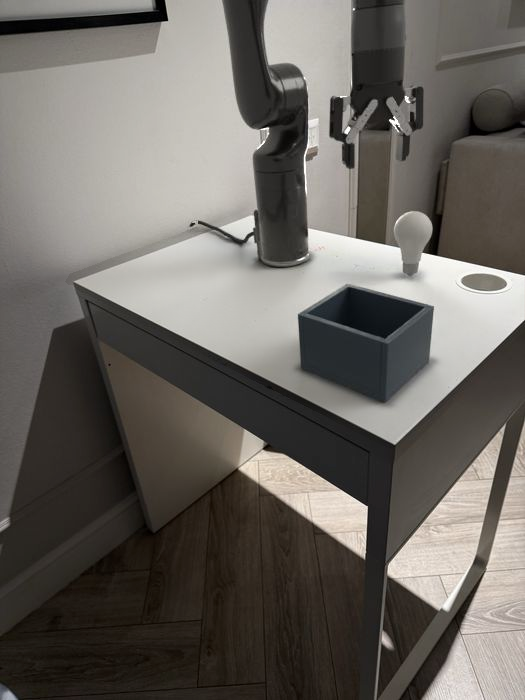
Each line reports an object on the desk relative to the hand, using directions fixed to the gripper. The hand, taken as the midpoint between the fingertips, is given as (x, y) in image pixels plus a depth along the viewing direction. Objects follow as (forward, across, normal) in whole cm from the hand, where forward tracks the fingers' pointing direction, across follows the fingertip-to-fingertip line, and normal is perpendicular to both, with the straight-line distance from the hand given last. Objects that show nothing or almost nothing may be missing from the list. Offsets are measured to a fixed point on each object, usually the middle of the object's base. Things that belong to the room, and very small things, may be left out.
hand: (375, 164), depth 82 cm
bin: (+19, +12, +27) cm, 35 cm away
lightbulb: (+19, -5, +3) cm, 20 cm away
